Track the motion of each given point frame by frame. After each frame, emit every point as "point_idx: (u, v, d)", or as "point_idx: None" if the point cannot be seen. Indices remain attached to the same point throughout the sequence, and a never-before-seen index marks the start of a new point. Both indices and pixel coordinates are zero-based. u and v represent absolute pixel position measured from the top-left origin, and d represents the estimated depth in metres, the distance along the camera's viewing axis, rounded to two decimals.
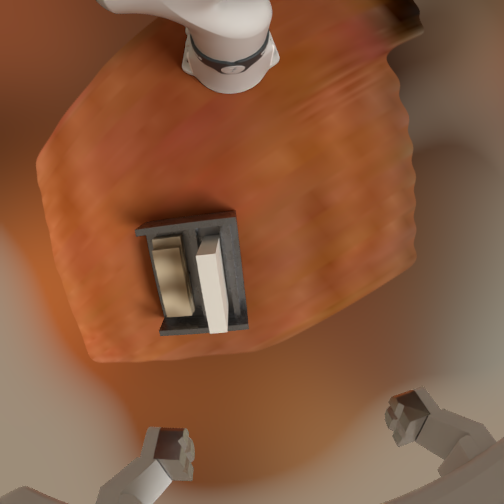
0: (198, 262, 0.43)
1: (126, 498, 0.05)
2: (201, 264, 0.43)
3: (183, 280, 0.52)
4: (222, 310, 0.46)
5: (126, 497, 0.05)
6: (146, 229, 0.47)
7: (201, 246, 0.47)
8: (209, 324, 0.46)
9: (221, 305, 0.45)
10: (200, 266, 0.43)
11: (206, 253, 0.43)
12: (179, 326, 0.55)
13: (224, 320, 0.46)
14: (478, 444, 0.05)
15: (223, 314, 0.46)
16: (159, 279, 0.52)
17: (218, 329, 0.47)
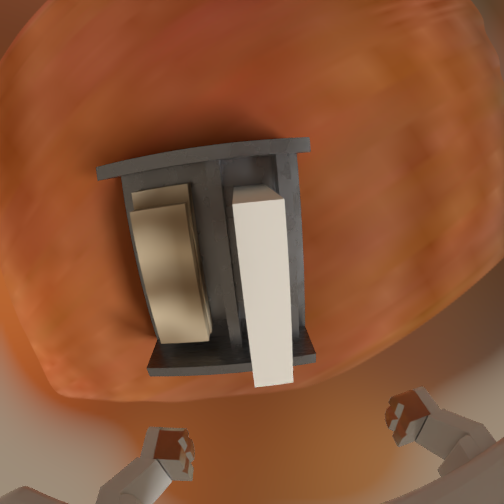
0: (238, 222, 0.16)
1: (126, 498, 0.05)
2: (245, 227, 0.17)
3: (192, 273, 0.26)
4: (288, 340, 0.19)
5: (126, 497, 0.05)
6: (118, 164, 0.21)
7: (237, 194, 0.21)
8: (255, 369, 0.20)
9: (287, 329, 0.19)
10: (244, 233, 0.17)
11: (259, 200, 0.17)
12: (183, 359, 0.29)
13: (289, 360, 0.20)
14: (478, 444, 0.05)
15: (290, 347, 0.19)
16: (144, 271, 0.25)
17: (274, 378, 0.20)
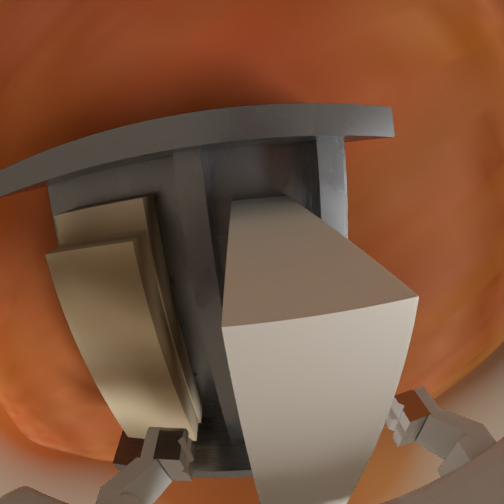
0: (248, 382, 0.04)
1: (126, 498, 0.05)
2: (272, 395, 0.04)
3: (160, 360, 0.13)
4: None
5: (126, 497, 0.05)
6: (13, 169, 0.08)
7: (239, 233, 0.08)
8: None
9: (340, 503, 0.07)
10: (266, 409, 0.04)
11: (328, 298, 0.04)
12: None
13: None
14: (478, 444, 0.05)
15: None
16: (83, 350, 0.13)
17: None
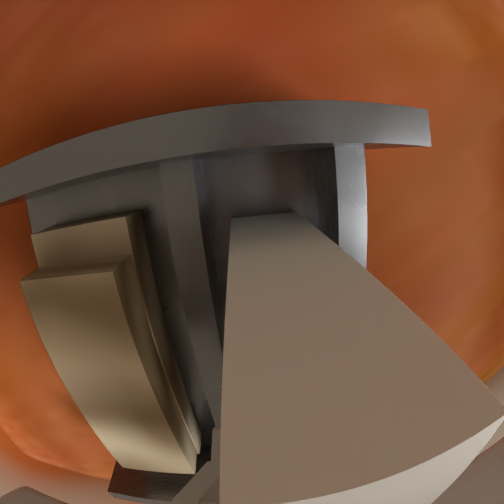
0: None
1: None
2: None
3: (151, 400, 0.11)
4: None
5: None
6: None
7: (242, 276, 0.06)
8: None
9: None
10: None
11: (391, 436, 0.02)
12: (160, 485, 0.14)
13: None
14: None
15: None
16: (67, 384, 0.11)
17: None
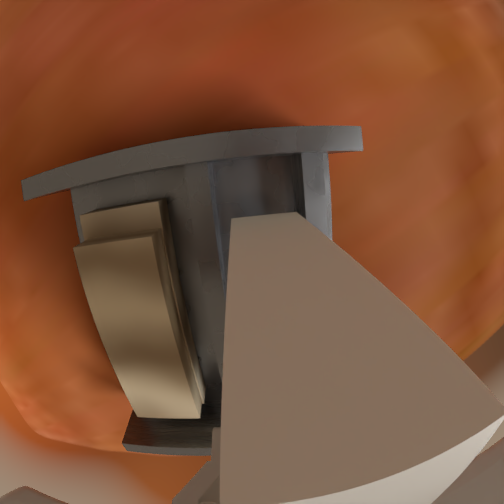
0: None
1: None
2: None
3: (170, 339, 0.16)
4: None
5: None
6: (48, 174, 0.11)
7: (242, 276, 0.06)
8: None
9: None
10: None
11: (391, 436, 0.02)
12: (168, 435, 0.19)
13: None
14: None
15: None
16: (102, 332, 0.16)
17: None
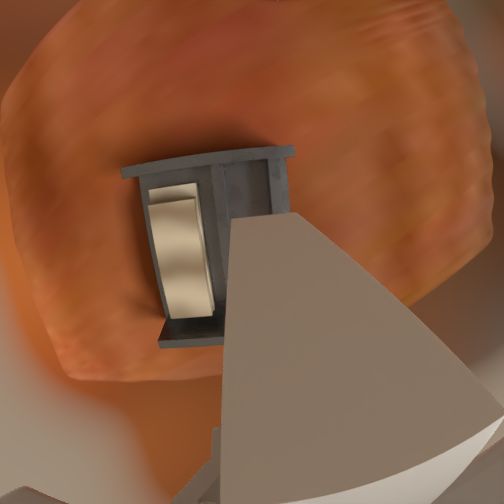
0: None
1: None
2: None
3: (199, 256, 0.31)
4: None
5: None
6: (140, 166, 0.27)
7: (242, 277, 0.06)
8: None
9: None
10: None
11: (390, 437, 0.02)
12: (190, 333, 0.34)
13: None
14: None
15: None
16: (158, 255, 0.31)
17: None
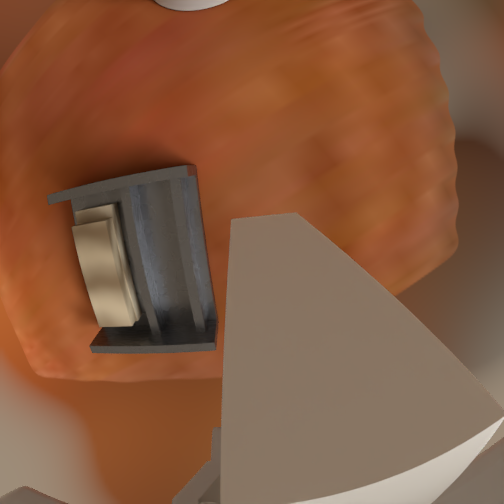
0: None
1: None
2: None
3: (115, 272, 0.32)
4: None
5: None
6: (60, 193, 0.27)
7: (243, 278, 0.06)
8: None
9: None
10: None
11: (389, 438, 0.02)
12: (116, 340, 0.34)
13: None
14: None
15: None
16: (83, 270, 0.31)
17: None
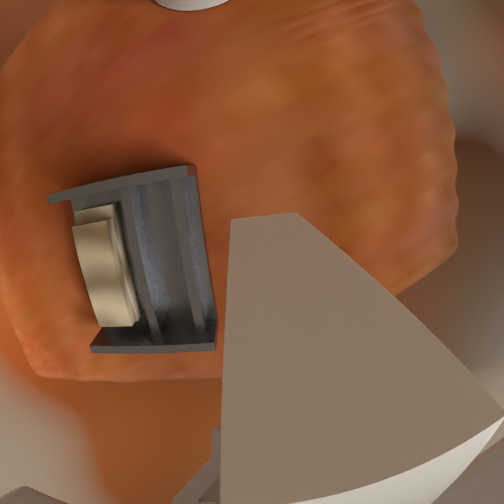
0: None
1: None
2: None
3: (114, 272, 0.32)
4: None
5: None
6: (60, 193, 0.27)
7: (242, 278, 0.06)
8: None
9: None
10: None
11: (390, 438, 0.02)
12: (116, 340, 0.34)
13: None
14: None
15: None
16: (83, 270, 0.31)
17: None
